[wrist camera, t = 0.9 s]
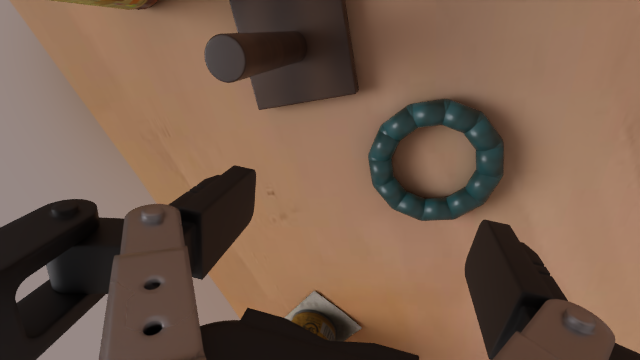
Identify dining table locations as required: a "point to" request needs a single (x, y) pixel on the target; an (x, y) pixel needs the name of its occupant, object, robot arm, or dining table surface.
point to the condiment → (323, 319)
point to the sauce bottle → (115, 3)
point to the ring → (452, 117)
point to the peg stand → (287, 51)
